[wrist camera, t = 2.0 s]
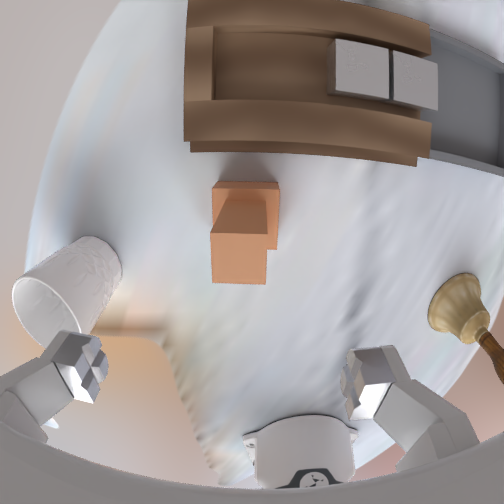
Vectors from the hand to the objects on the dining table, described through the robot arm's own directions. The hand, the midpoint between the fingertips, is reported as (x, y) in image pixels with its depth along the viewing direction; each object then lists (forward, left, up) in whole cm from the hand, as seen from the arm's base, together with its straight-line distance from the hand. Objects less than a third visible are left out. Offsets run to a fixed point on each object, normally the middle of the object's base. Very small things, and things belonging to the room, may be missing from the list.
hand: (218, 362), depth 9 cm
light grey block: (+12, -8, -17) cm, 22 cm away
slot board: (+12, -5, -18) cm, 22 cm away
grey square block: (+12, -13, -17) cm, 24 cm away
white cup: (-6, +16, -18) cm, 25 cm away
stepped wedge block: (0, 0, -18) cm, 18 cm away
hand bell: (-10, -25, -18) cm, 33 cm away
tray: (+12, -21, -18) cm, 30 cm away
